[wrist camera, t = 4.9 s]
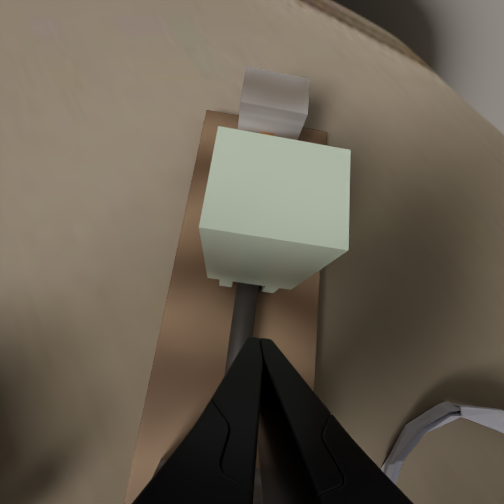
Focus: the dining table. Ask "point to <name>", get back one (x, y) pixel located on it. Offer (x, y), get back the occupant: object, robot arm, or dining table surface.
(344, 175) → the pale green box
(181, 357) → the cord board
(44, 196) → the dining table surface
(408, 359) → the dining table surface
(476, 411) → the headphones
